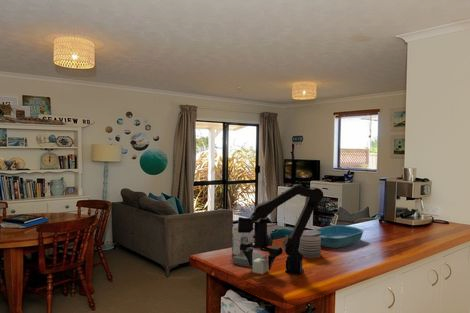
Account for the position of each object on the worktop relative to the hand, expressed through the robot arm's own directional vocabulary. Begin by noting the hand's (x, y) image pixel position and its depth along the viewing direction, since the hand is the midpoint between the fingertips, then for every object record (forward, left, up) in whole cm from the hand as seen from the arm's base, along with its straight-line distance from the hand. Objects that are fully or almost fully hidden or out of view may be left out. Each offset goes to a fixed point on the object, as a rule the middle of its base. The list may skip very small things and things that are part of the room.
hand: (260, 267), depth 158 cm
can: (-10, -37, -2) cm, 38 cm away
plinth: (+10, -9, -2) cm, 14 cm away
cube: (0, 0, -2) cm, 2 cm away
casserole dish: (-15, -71, -2) cm, 73 cm away
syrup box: (+21, -18, -2) cm, 28 cm away
